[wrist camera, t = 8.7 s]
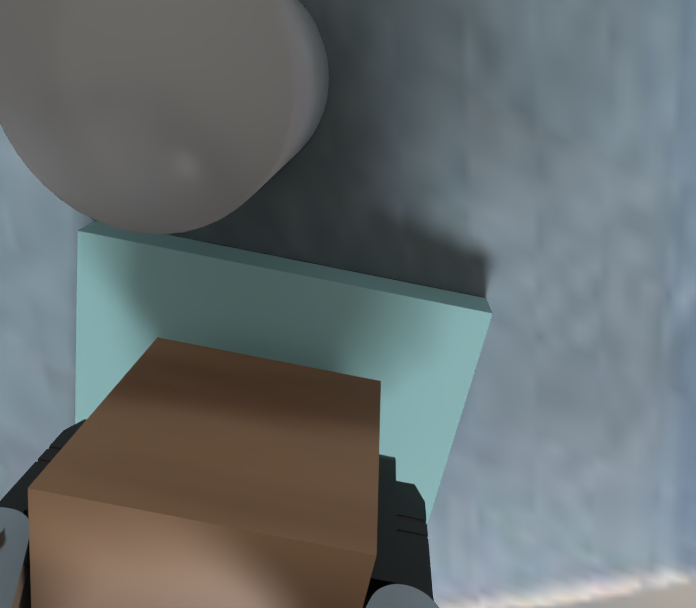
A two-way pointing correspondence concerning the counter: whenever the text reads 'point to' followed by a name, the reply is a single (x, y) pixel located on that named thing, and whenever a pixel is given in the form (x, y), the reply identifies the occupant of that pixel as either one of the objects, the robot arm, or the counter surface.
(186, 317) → the teal mat
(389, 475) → the robot arm
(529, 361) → the counter surface
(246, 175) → the grey rounded part
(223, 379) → the walnut block
